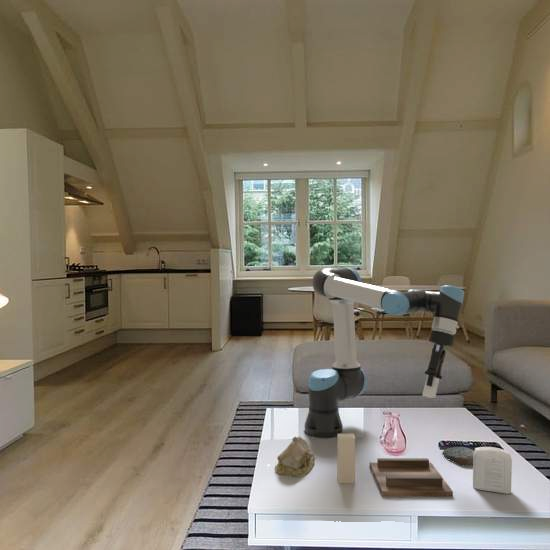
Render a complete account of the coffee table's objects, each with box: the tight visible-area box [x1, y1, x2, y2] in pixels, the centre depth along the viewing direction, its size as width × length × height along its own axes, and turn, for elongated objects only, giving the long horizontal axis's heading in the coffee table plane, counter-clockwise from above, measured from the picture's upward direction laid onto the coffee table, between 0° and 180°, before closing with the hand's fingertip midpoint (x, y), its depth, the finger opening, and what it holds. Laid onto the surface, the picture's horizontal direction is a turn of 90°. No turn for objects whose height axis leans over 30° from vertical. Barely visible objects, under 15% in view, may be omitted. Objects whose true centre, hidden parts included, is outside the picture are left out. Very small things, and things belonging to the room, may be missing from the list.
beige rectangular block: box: [336, 433, 356, 484], centre depth 134 cm, size 3×5×14 cm, turn 89°
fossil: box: [441, 446, 475, 467], centre depth 149 cm, size 10×13×4 cm
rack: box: [369, 457, 454, 497], centre depth 134 cm, size 18×20×4 cm
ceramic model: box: [274, 436, 316, 478], centre depth 143 cm, size 14×11×10 cm
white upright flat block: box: [472, 446, 513, 495], centre depth 129 cm, size 10×4×12 cm, turn 72°
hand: (428, 397), depth 140 cm, fingers open, 13 cm apart
